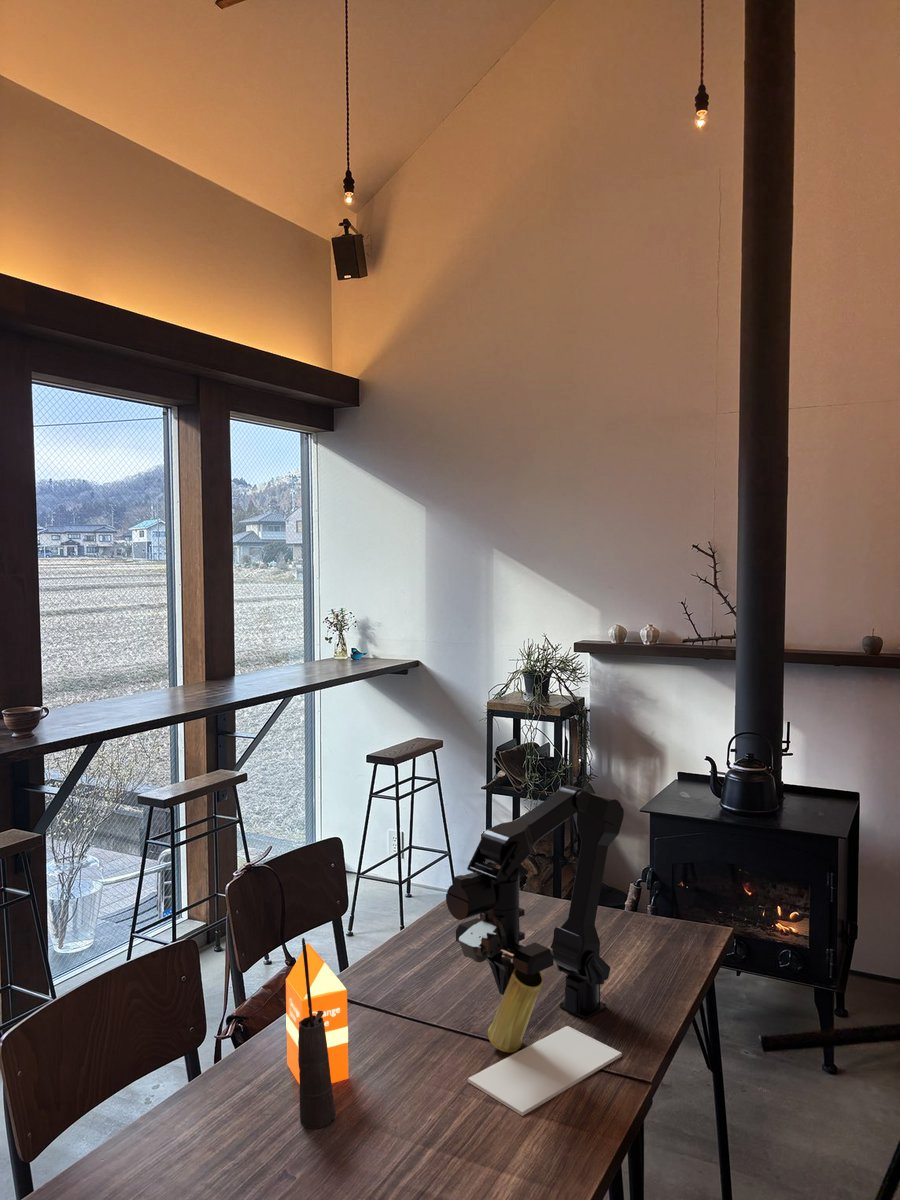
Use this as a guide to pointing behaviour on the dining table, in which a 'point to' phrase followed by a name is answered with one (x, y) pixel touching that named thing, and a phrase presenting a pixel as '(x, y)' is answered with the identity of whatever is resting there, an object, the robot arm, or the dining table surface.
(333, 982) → the orange juice
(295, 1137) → the dining table surface
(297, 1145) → the dining table surface
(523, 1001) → the vase
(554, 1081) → the mat
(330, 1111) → the butter churn
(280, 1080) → the dining table surface
